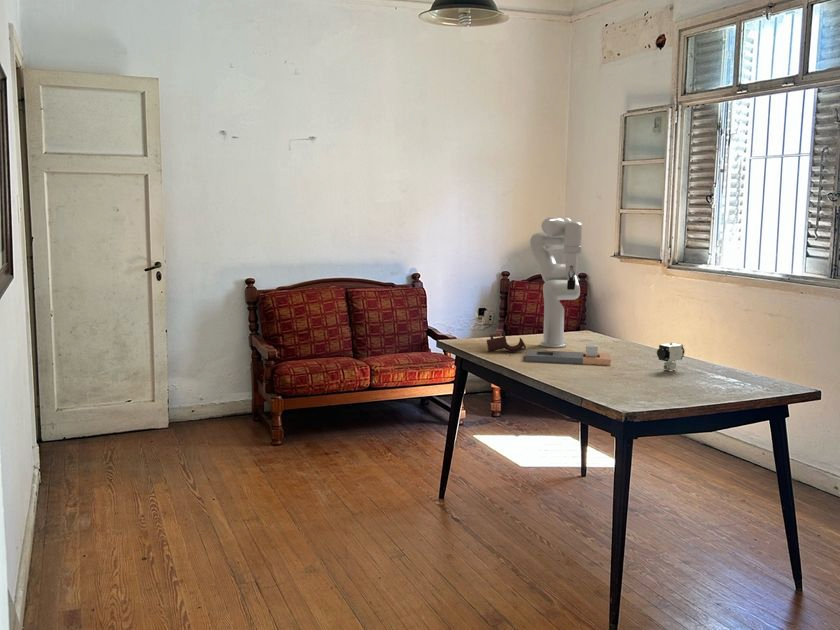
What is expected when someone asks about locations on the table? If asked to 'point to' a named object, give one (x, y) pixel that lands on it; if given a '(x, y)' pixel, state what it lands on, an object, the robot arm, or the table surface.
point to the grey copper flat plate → (567, 357)
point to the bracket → (504, 344)
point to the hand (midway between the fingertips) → (571, 288)
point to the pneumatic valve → (670, 354)
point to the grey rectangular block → (591, 350)
